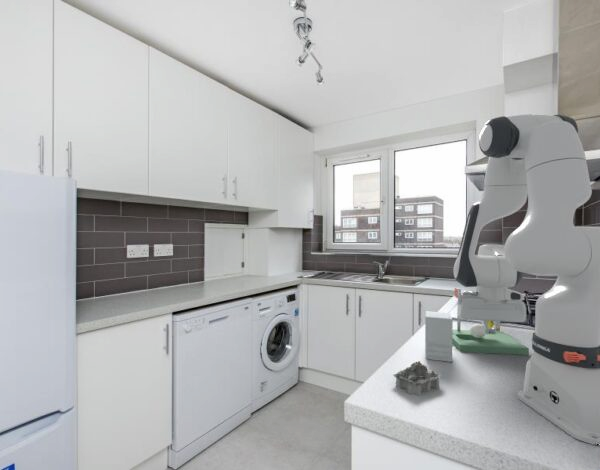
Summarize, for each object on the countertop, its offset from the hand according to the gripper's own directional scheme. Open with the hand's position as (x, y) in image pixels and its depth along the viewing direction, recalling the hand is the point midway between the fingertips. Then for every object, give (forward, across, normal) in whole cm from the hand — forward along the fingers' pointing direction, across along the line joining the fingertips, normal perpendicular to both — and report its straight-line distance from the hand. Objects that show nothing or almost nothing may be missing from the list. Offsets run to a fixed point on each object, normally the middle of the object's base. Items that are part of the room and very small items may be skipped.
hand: (490, 333), depth 106 cm
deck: (+4, -3, +2) cm, 5 cm away
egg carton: (+4, -31, -33) cm, 45 cm away
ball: (-1, -4, 0) cm, 4 cm away
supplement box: (+4, -20, -13) cm, 25 cm away
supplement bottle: (+4, +7, +16) cm, 18 cm away
